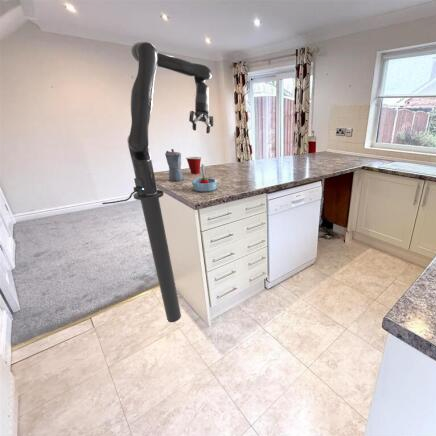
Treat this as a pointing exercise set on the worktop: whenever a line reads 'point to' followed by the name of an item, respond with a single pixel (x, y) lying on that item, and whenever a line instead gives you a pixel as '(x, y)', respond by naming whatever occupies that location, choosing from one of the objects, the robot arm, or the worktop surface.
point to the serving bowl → (204, 185)
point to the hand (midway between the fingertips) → (201, 131)
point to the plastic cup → (194, 164)
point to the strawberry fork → (203, 180)
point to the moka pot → (174, 165)
